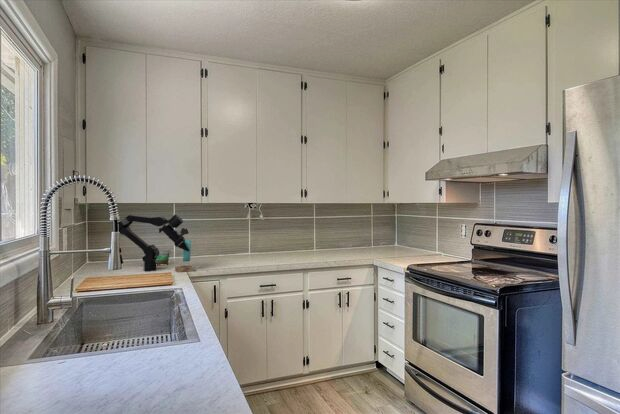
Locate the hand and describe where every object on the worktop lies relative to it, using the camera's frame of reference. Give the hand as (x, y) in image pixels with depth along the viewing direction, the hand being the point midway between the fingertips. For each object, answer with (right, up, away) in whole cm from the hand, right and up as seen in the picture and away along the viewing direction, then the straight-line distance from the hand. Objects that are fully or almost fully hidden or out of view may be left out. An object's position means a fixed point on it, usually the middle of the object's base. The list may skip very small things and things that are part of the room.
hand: (189, 250), depth 241 cm
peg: (-2, -7, -1) cm, 7 cm away
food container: (-27, -13, +23) cm, 37 cm away
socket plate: (-2, -12, -4) cm, 13 cm away
